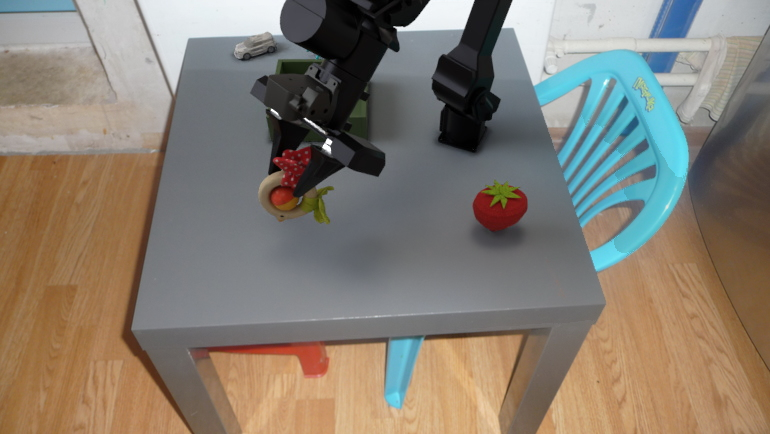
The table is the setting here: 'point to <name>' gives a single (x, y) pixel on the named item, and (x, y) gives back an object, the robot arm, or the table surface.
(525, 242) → the table surface
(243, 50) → the toy car
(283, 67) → the bin
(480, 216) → the strawberry
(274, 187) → the bird rattle
